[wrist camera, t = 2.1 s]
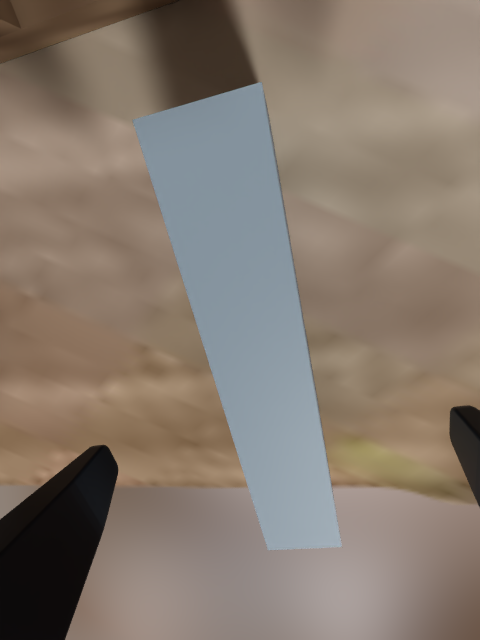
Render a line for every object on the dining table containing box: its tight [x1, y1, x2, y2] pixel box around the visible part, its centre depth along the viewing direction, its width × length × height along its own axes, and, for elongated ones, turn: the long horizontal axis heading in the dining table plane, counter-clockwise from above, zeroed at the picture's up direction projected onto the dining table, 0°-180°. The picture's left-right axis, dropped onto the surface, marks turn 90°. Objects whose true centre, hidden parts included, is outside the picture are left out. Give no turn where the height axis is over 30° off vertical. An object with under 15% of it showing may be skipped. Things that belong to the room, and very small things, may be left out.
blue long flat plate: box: [133, 82, 342, 550], centre depth 14 cm, size 3×16×8 cm, turn 13°
